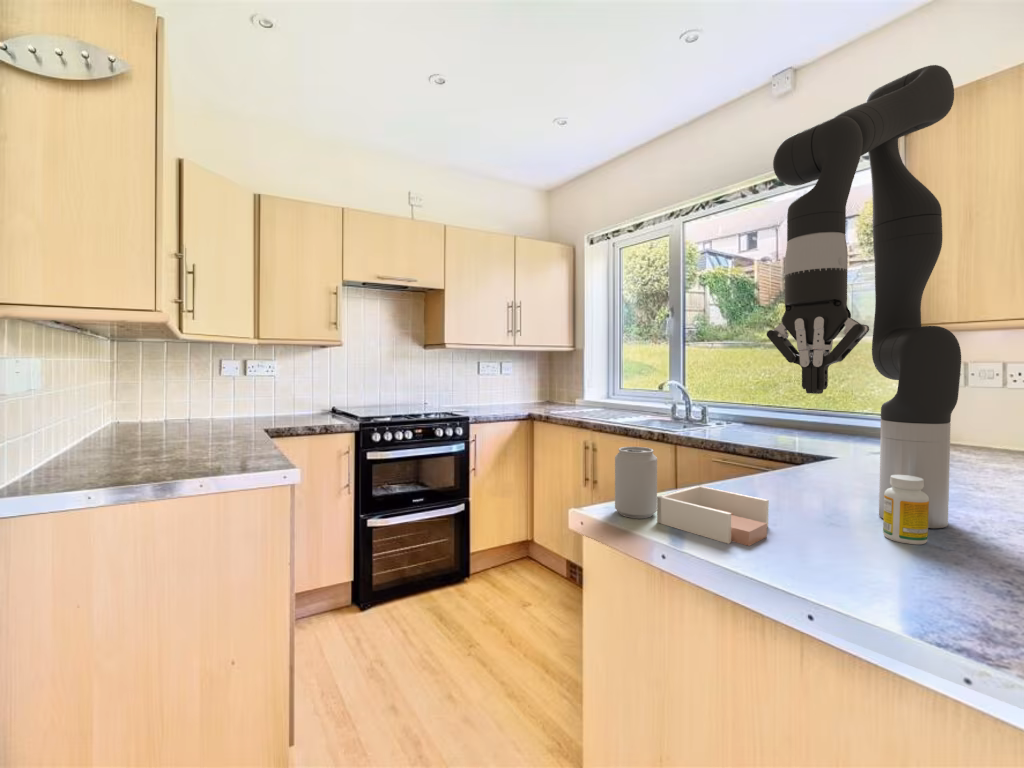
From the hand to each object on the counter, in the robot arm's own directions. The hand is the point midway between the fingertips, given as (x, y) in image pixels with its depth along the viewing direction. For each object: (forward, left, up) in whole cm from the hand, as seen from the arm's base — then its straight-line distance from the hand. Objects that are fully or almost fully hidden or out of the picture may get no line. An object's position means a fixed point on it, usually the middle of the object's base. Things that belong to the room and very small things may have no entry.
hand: (814, 393), depth 69 cm
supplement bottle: (-17, +7, -23) cm, 29 cm away
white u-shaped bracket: (0, -15, -23) cm, 28 cm away
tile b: (+2, -10, -23) cm, 25 cm away
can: (+5, -27, -23) cm, 36 cm away
